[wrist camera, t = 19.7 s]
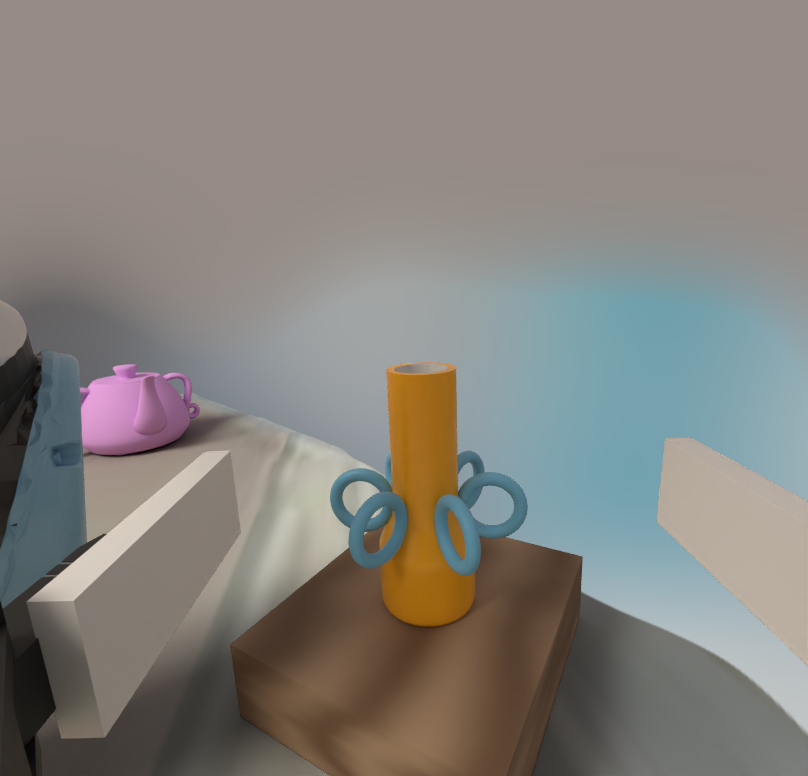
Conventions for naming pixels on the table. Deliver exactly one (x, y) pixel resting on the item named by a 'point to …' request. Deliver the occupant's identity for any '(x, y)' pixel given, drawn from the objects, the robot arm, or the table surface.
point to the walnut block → (414, 668)
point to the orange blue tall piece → (425, 502)
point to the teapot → (134, 411)
